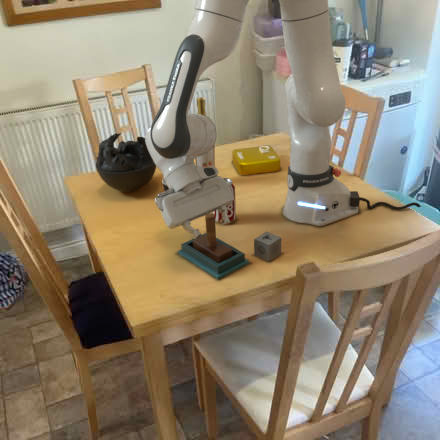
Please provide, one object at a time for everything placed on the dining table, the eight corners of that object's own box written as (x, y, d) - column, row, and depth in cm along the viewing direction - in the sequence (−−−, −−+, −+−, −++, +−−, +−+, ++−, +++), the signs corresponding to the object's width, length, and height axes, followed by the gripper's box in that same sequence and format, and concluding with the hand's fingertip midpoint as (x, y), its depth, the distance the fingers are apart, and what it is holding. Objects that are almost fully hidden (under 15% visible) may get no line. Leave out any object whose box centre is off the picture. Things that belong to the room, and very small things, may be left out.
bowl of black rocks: (90, 189, 169) (78, 135, 158) (138, 172, 179) (130, 120, 168) (121, 208, 157) (111, 150, 145) (171, 188, 167) (165, 132, 156)
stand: (177, 253, 133) (176, 244, 131) (208, 239, 138) (207, 230, 136) (218, 279, 122) (217, 269, 120) (249, 263, 127) (249, 253, 125)
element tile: (231, 160, 184) (231, 148, 181) (270, 155, 185) (270, 143, 182) (240, 176, 172) (239, 163, 169) (281, 171, 173) (281, 158, 171)
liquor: (217, 178, 171) (213, 94, 154) (217, 187, 165) (212, 101, 148) (196, 179, 171) (189, 95, 155) (195, 188, 165) (188, 102, 149)
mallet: (193, 251, 132) (189, 211, 124) (206, 245, 134) (203, 205, 127) (219, 267, 125) (217, 226, 118) (233, 261, 127) (231, 219, 120)
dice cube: (266, 247, 133) (266, 231, 130) (281, 253, 130) (281, 237, 127) (254, 255, 130) (254, 238, 127) (269, 261, 127) (269, 245, 124)
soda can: (223, 212, 151) (221, 175, 144) (240, 218, 147) (239, 180, 140) (208, 221, 147) (206, 183, 139) (226, 227, 143) (224, 188, 136)
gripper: (155, 190, 117) (184, 240, 116) (221, 165, 127) (247, 211, 127) (147, 201, 122) (175, 249, 122) (211, 177, 132) (236, 221, 132)
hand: (212, 230), depth 124 cm, fingers open, 8 cm apart
